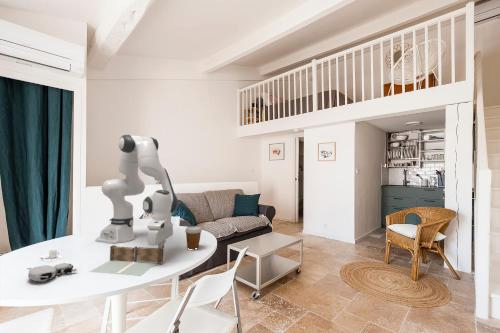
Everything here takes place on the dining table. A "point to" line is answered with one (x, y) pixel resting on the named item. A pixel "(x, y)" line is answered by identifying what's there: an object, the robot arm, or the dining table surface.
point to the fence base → (123, 254)
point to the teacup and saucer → (51, 255)
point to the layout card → (125, 267)
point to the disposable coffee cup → (193, 236)
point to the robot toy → (49, 271)
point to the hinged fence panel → (150, 254)
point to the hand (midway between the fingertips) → (161, 249)
